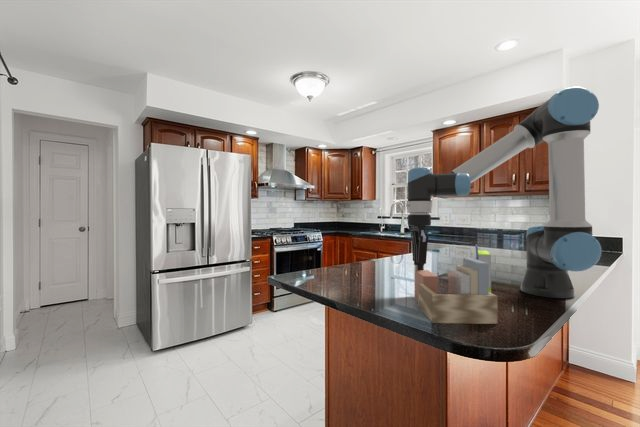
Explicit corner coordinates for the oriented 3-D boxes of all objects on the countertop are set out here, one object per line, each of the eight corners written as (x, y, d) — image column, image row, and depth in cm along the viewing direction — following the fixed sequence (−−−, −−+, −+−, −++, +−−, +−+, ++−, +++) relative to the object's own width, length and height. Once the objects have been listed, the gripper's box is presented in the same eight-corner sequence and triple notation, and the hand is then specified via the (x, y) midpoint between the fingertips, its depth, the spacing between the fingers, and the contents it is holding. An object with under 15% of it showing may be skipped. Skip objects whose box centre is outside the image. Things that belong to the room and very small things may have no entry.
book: (428, 297, 104) (428, 270, 104) (438, 306, 94) (438, 276, 94) (414, 297, 104) (414, 270, 104) (423, 306, 94) (423, 276, 94)
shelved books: (471, 310, 90) (471, 258, 90) (488, 322, 80) (488, 263, 80) (456, 310, 90) (456, 257, 90) (471, 321, 81) (470, 263, 81)
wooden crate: (473, 307, 92) (473, 284, 92) (497, 323, 79) (497, 295, 79) (418, 307, 93) (418, 283, 93) (432, 323, 80) (432, 295, 80)
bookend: (455, 310, 90) (455, 268, 90) (469, 321, 81) (469, 274, 81) (448, 310, 90) (448, 268, 90) (461, 321, 81) (461, 274, 81)
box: (491, 304, 96) (491, 247, 96) (476, 303, 97) (476, 247, 97) (488, 296, 106) (488, 244, 106) (474, 294, 107) (474, 244, 107)
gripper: (403, 213, 113) (403, 279, 113) (412, 214, 100) (412, 288, 100) (424, 213, 113) (424, 279, 113) (436, 214, 100) (436, 288, 100)
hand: (419, 283), depth 107 cm, fingers closed
